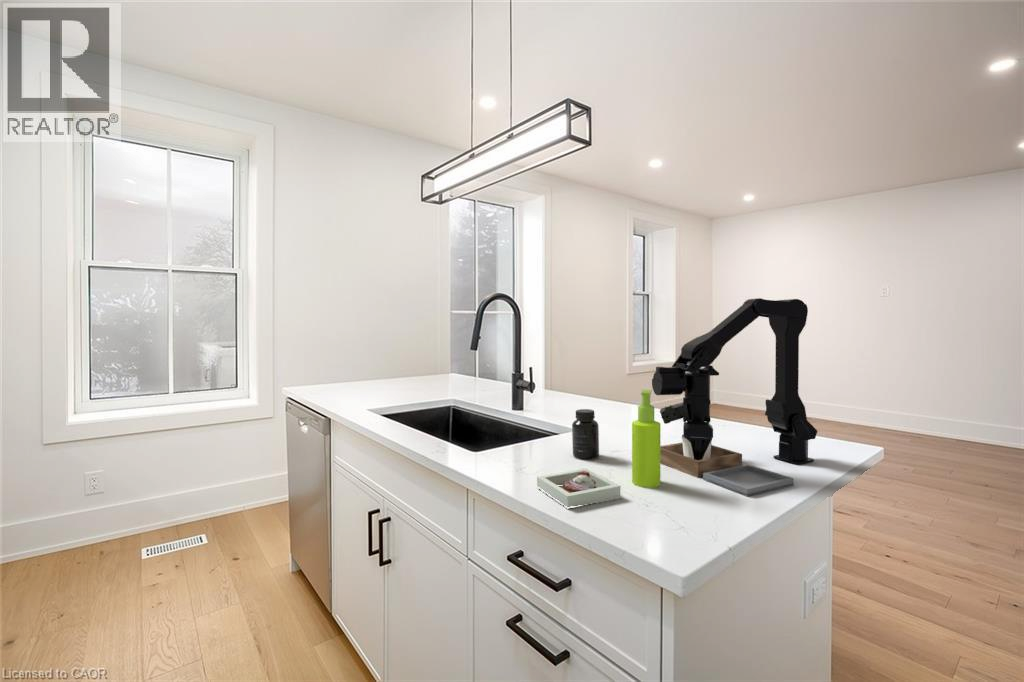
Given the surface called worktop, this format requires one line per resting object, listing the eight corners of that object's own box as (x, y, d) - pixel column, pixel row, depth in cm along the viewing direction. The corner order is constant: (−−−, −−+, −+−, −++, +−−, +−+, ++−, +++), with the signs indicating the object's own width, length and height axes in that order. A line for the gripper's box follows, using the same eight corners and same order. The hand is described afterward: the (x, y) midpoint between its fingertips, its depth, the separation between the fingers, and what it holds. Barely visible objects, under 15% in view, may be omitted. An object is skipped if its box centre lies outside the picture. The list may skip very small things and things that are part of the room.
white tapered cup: (715, 469, 108) (715, 440, 108) (684, 468, 109) (684, 439, 109) (708, 461, 115) (708, 433, 115) (679, 459, 116) (679, 432, 116)
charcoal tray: (747, 470, 107) (747, 464, 107) (793, 485, 97) (793, 478, 97) (703, 479, 102) (703, 472, 101) (747, 496, 92) (747, 489, 91)
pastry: (605, 493, 95) (605, 469, 95) (594, 506, 88) (594, 480, 88) (568, 487, 99) (568, 464, 98) (555, 499, 92) (555, 474, 92)
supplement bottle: (580, 451, 125) (579, 407, 124) (603, 455, 121) (603, 409, 120) (567, 457, 119) (567, 411, 119) (591, 461, 115) (591, 414, 115)
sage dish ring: (585, 479, 103) (585, 468, 102) (620, 498, 91) (620, 485, 91) (537, 488, 97) (536, 476, 97) (567, 509, 86) (567, 496, 86)
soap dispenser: (660, 478, 103) (660, 388, 102) (660, 488, 96) (660, 393, 96) (633, 475, 105) (633, 387, 104) (631, 485, 98) (630, 392, 97)
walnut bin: (695, 453, 121) (695, 440, 121) (742, 468, 109) (742, 453, 109) (654, 460, 116) (654, 446, 115) (697, 477, 103) (698, 462, 103)
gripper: (663, 387, 123) (663, 445, 124) (660, 398, 105) (660, 466, 106) (708, 389, 119) (708, 449, 120) (713, 401, 102) (713, 471, 102)
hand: (696, 458), depth 112 cm, fingers open, 9 cm apart
